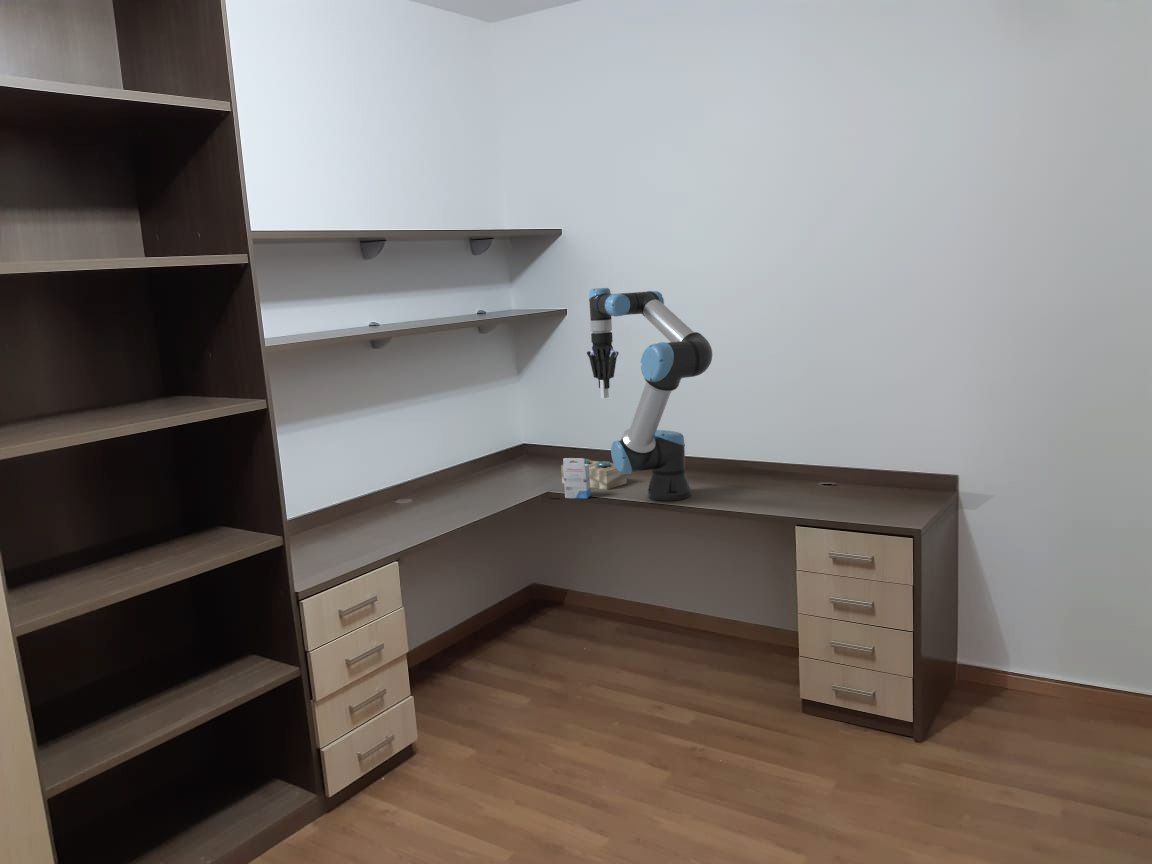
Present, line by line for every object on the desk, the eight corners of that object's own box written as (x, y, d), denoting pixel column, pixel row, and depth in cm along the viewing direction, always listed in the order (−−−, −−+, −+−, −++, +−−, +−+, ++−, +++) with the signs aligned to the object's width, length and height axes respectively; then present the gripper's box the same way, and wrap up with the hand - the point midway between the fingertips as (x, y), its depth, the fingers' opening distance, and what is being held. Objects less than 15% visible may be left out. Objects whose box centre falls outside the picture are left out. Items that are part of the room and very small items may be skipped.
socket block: (626, 483, 343) (626, 464, 341) (607, 489, 334) (606, 471, 332) (582, 476, 357) (581, 459, 356) (562, 483, 348) (561, 465, 347)
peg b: (614, 482, 342) (613, 462, 341) (605, 485, 338) (604, 464, 337) (603, 480, 345) (602, 460, 344) (594, 483, 342) (593, 463, 340)
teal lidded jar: (593, 479, 349) (592, 459, 347) (584, 482, 345) (583, 462, 343) (583, 477, 352) (582, 458, 351) (574, 480, 348) (573, 460, 347)
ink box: (591, 495, 327) (589, 455, 324) (587, 499, 322) (585, 458, 320) (569, 494, 330) (566, 455, 327) (564, 498, 325) (562, 458, 322)
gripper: (622, 331, 321) (625, 397, 325) (594, 330, 330) (597, 395, 334) (609, 333, 316) (612, 400, 320) (580, 332, 324) (584, 398, 328)
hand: (604, 397), depth 327 cm, fingers closed
